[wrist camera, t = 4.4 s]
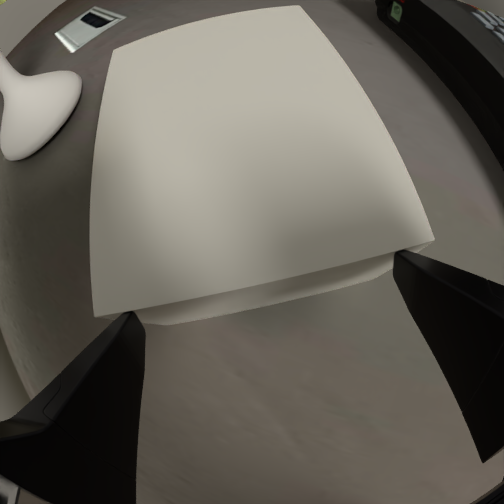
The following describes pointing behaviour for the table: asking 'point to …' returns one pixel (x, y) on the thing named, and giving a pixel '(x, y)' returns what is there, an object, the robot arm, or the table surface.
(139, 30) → the table surface
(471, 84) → the computer keyboard
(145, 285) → the slab
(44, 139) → the flower in vase
